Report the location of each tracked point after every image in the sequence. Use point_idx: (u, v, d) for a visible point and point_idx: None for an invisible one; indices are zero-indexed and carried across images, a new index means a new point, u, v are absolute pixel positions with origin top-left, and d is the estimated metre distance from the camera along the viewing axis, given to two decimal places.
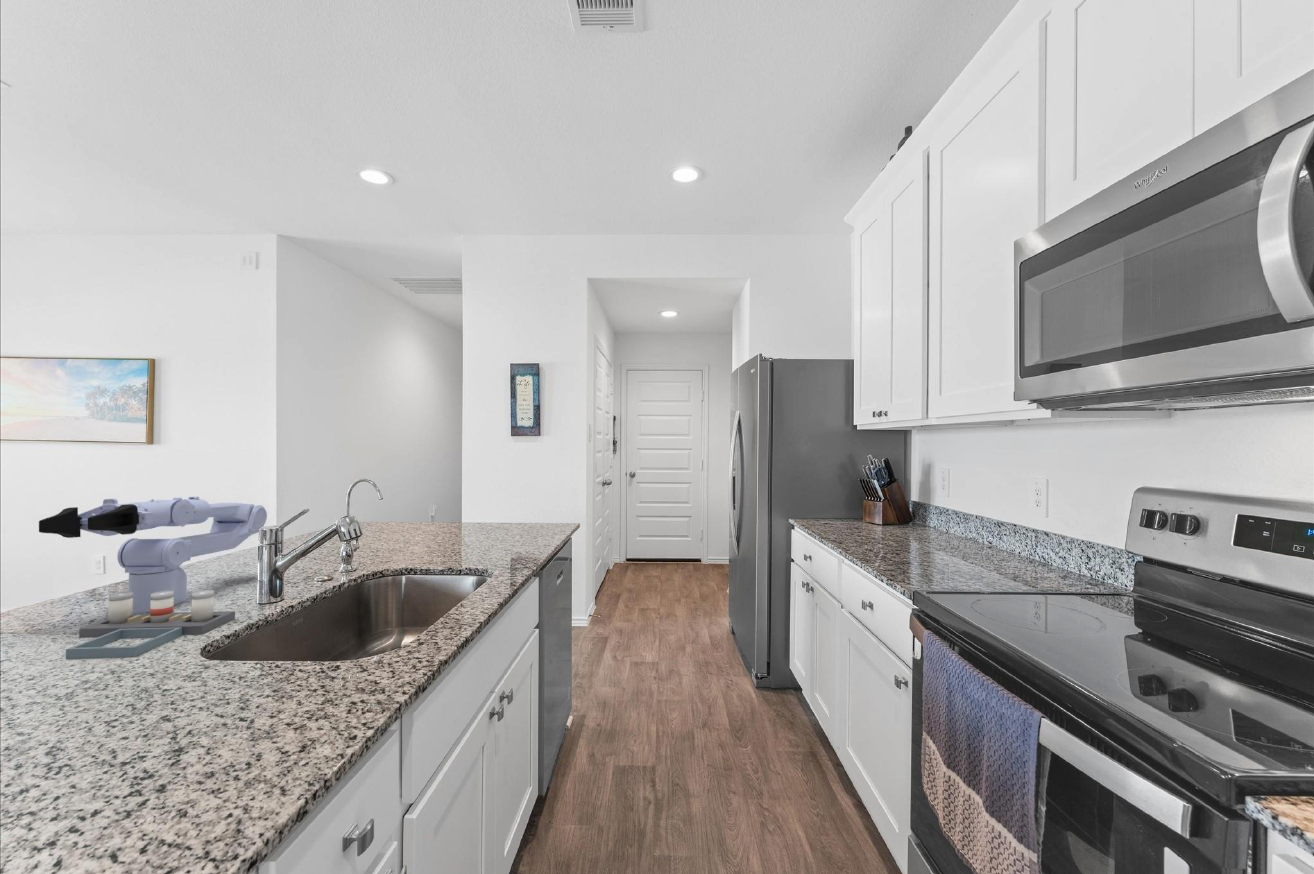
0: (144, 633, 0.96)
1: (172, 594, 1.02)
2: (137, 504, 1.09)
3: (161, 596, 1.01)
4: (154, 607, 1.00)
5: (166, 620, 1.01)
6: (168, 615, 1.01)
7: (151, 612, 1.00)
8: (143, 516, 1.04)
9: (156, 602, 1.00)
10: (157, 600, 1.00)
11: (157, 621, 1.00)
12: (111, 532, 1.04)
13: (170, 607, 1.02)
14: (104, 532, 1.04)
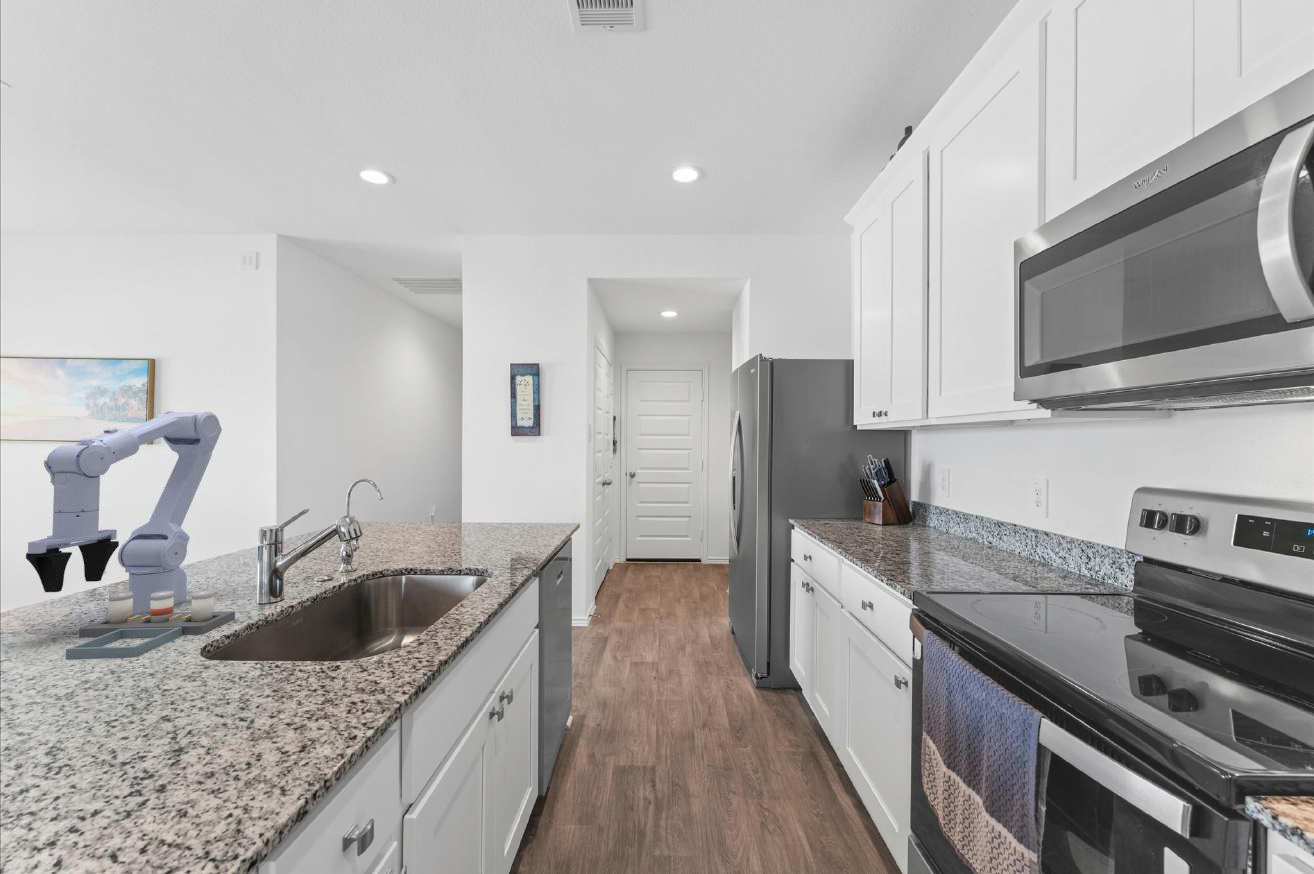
0: (144, 633, 0.96)
1: (172, 594, 1.02)
2: None
3: (161, 596, 1.01)
4: (154, 607, 1.00)
5: (166, 620, 1.01)
6: (168, 615, 1.01)
7: (151, 612, 1.00)
8: None
9: (156, 602, 1.00)
10: (157, 600, 1.00)
11: (157, 621, 1.00)
12: None
13: (170, 607, 1.02)
14: None
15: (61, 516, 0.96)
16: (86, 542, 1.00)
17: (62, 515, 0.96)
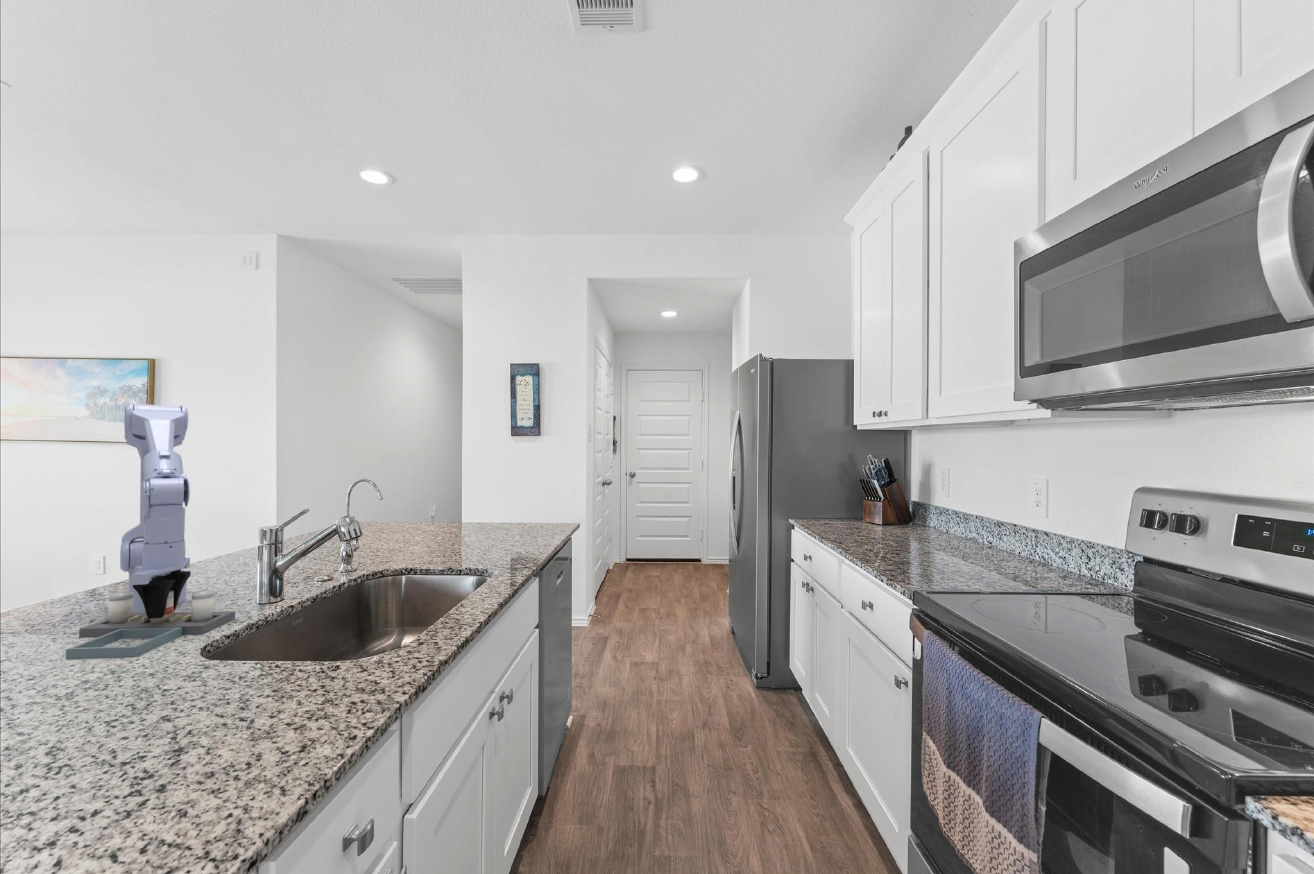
0: (144, 633, 0.96)
1: (172, 594, 1.02)
2: (143, 544, 1.00)
3: None
4: None
5: (166, 620, 1.01)
6: (168, 615, 1.01)
7: None
8: None
9: None
10: None
11: (157, 621, 1.00)
12: (177, 569, 1.02)
13: (170, 606, 1.02)
14: None
15: (155, 547, 0.99)
16: (170, 571, 1.04)
17: (156, 546, 0.99)
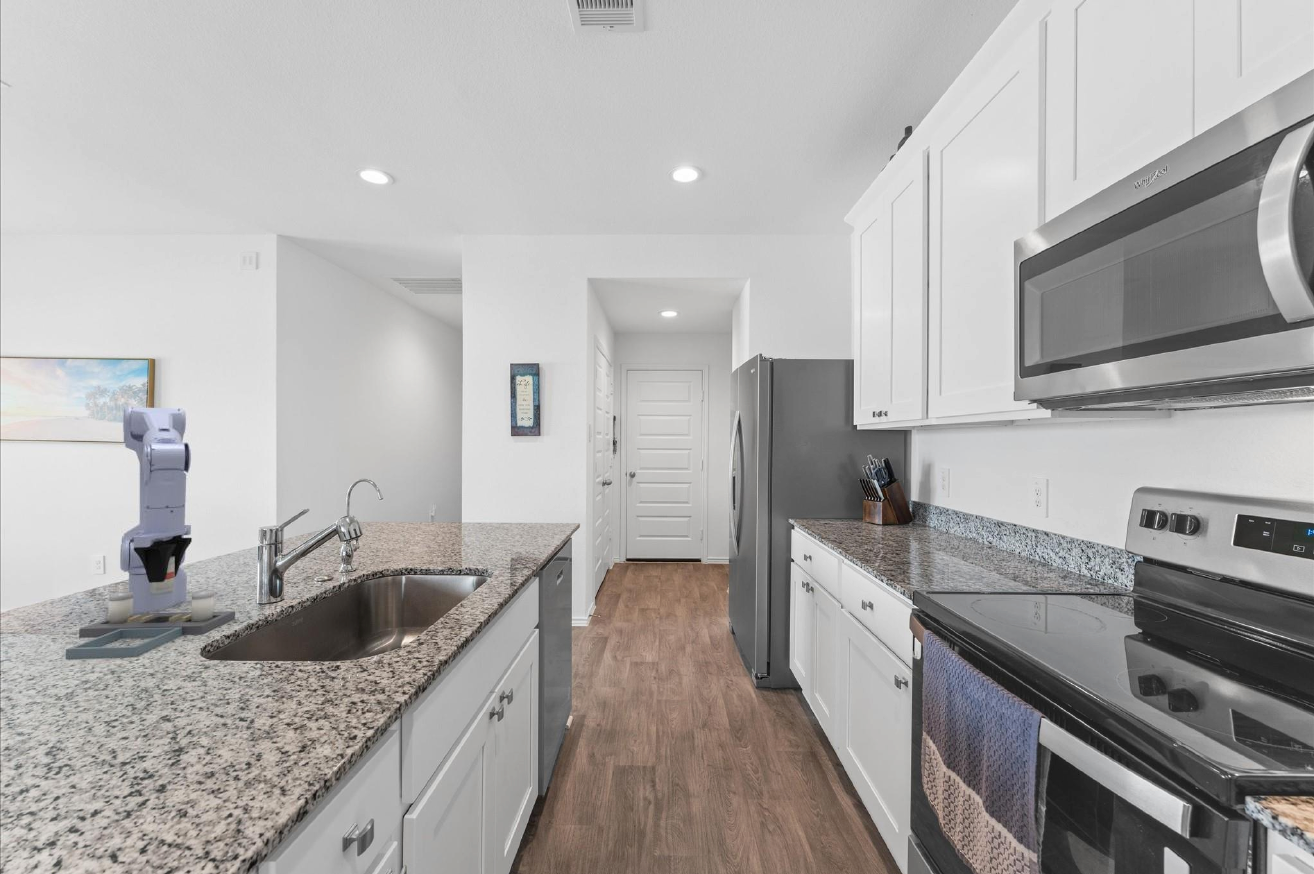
0: (144, 633, 0.96)
1: (173, 559, 1.02)
2: (144, 509, 1.00)
3: None
4: None
5: (167, 585, 1.01)
6: (169, 580, 1.01)
7: None
8: None
9: None
10: None
11: (159, 586, 1.00)
12: (178, 534, 1.02)
13: (172, 572, 1.02)
14: None
15: (156, 512, 0.99)
16: (171, 537, 1.04)
17: (157, 511, 1.00)
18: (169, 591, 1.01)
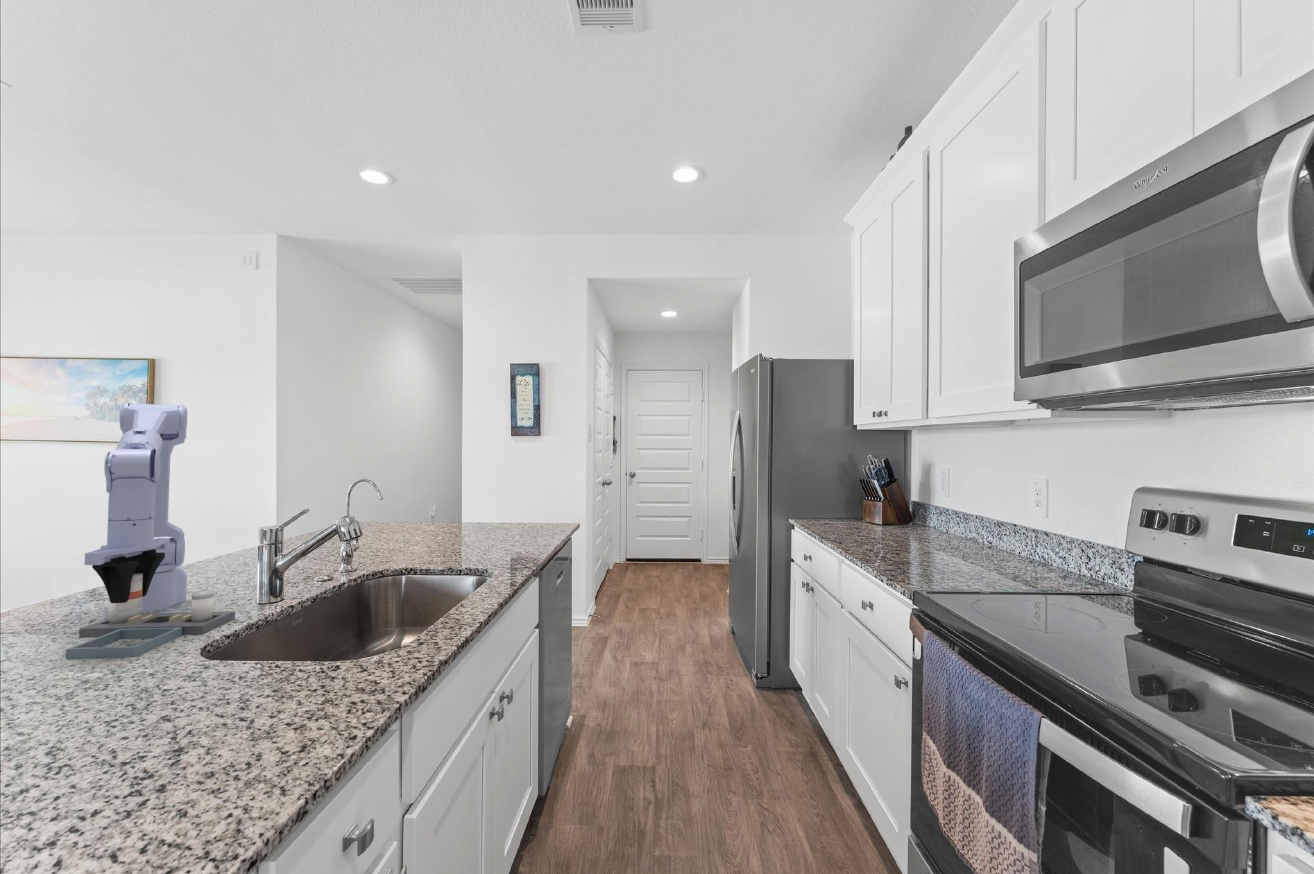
0: (144, 633, 0.96)
1: (139, 577, 0.92)
2: None
3: None
4: None
5: (131, 605, 0.91)
6: (134, 600, 0.91)
7: None
8: None
9: None
10: None
11: (122, 607, 0.91)
12: (143, 550, 0.92)
13: (137, 591, 0.92)
14: None
15: (117, 525, 0.90)
16: (141, 552, 0.94)
17: (118, 523, 0.90)
18: (134, 612, 0.91)
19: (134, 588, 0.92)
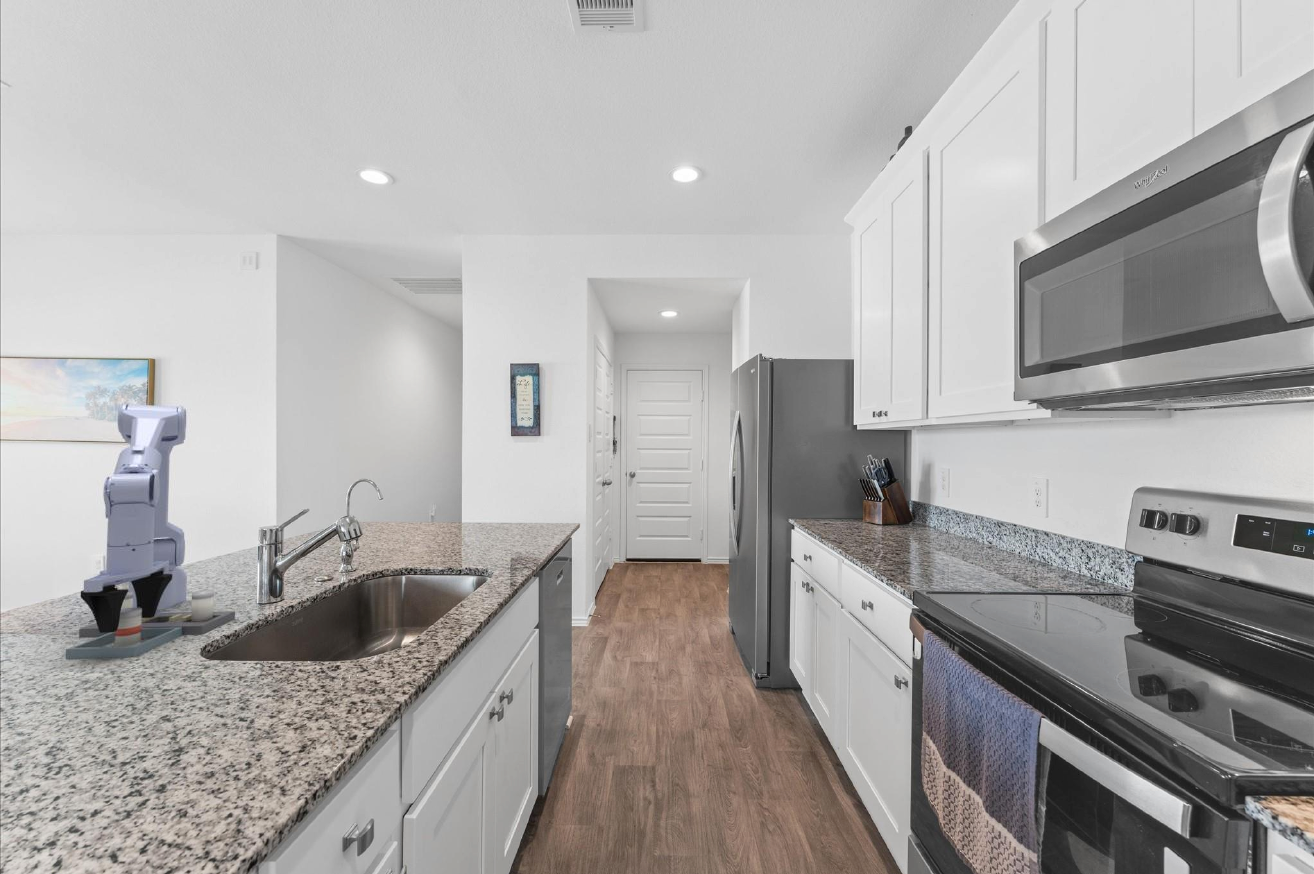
0: (144, 633, 0.96)
1: (138, 612, 0.92)
2: None
3: (125, 614, 0.91)
4: None
5: (130, 641, 0.91)
6: (133, 635, 0.91)
7: (115, 632, 0.91)
8: None
9: (119, 621, 0.90)
10: (120, 619, 0.91)
11: (121, 642, 0.90)
12: None
13: (136, 626, 0.92)
14: None
15: (116, 550, 0.90)
16: (140, 576, 0.94)
17: (117, 549, 0.90)
18: None
19: (133, 624, 0.91)
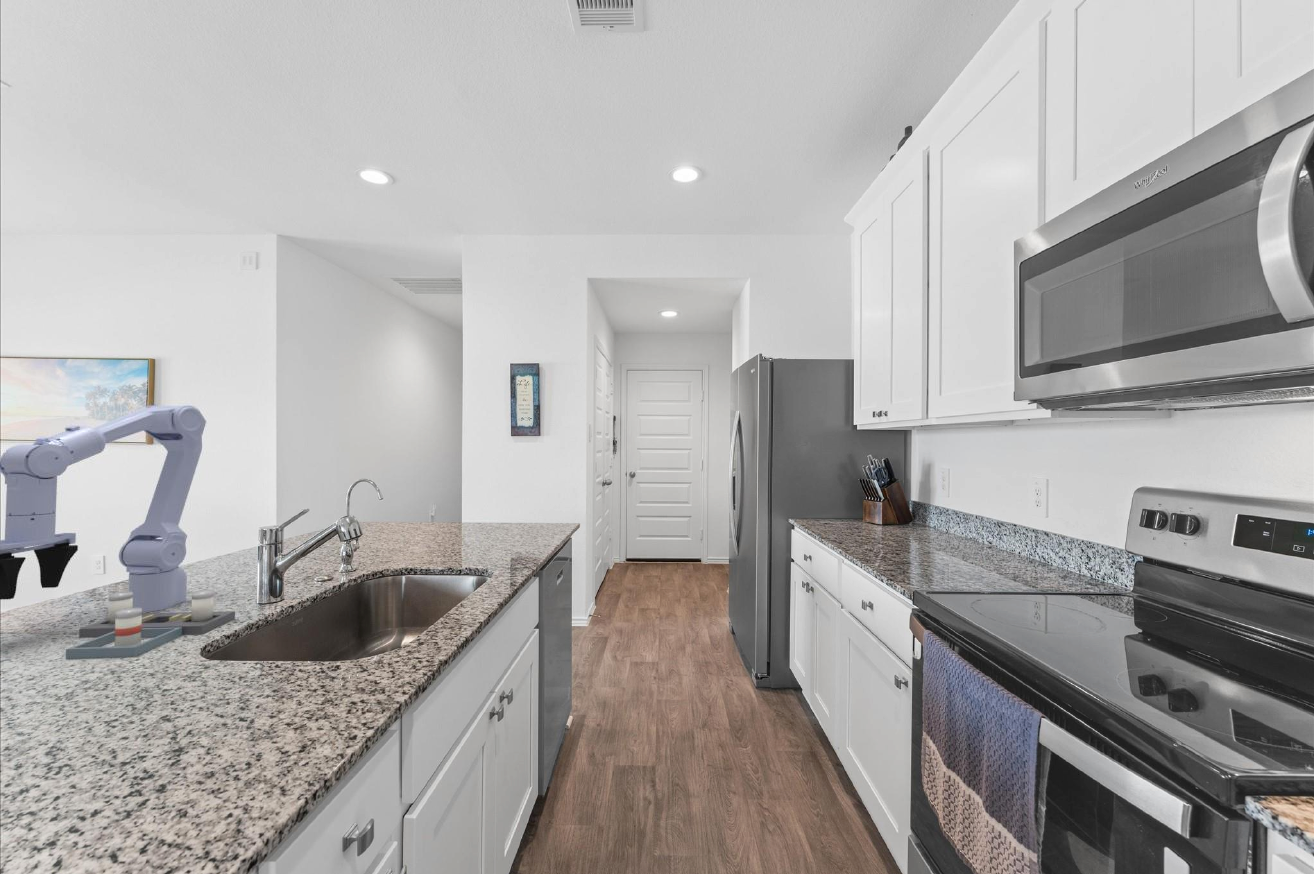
0: (144, 633, 0.96)
1: (139, 612, 0.92)
2: None
3: (125, 614, 0.91)
4: (117, 626, 0.90)
5: (130, 641, 0.91)
6: (133, 635, 0.91)
7: (115, 632, 0.91)
8: None
9: (119, 621, 0.91)
10: (120, 619, 0.91)
11: (121, 642, 0.90)
12: None
13: (136, 626, 0.92)
14: None
15: (14, 519, 0.91)
16: (42, 546, 0.96)
17: (15, 518, 0.91)
18: None
19: (133, 623, 0.91)
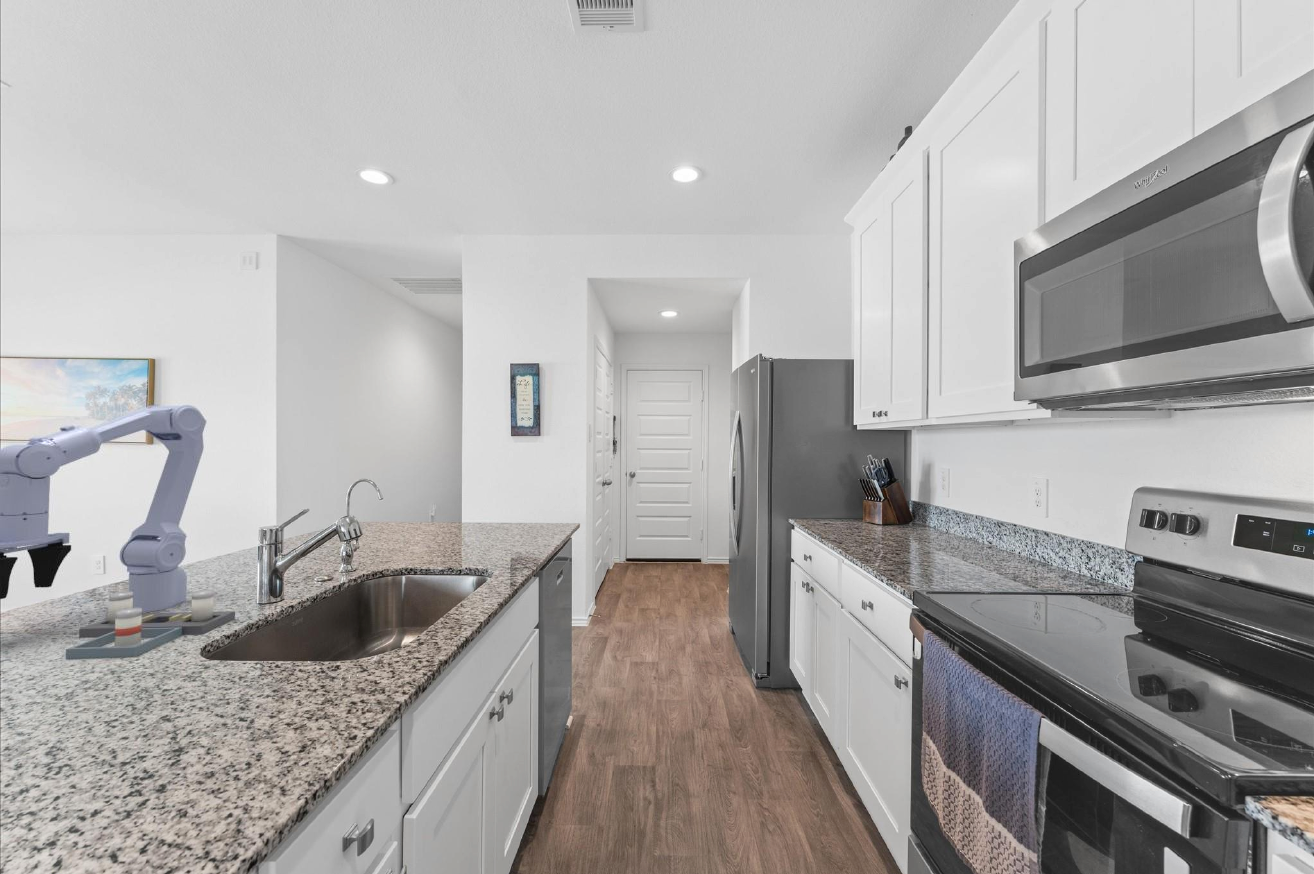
0: (144, 633, 0.96)
1: (139, 612, 0.92)
2: None
3: (125, 614, 0.91)
4: (117, 626, 0.90)
5: (130, 641, 0.91)
6: (133, 635, 0.91)
7: (115, 632, 0.91)
8: None
9: (119, 621, 0.90)
10: (120, 619, 0.91)
11: (121, 642, 0.90)
12: None
13: (136, 626, 0.92)
14: None
15: (6, 519, 0.91)
16: (35, 546, 0.96)
17: (7, 518, 0.91)
18: None
19: (133, 624, 0.91)
